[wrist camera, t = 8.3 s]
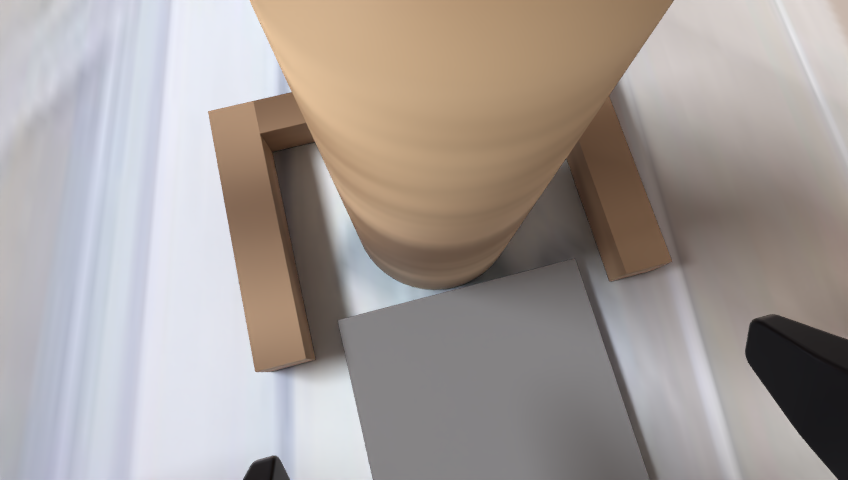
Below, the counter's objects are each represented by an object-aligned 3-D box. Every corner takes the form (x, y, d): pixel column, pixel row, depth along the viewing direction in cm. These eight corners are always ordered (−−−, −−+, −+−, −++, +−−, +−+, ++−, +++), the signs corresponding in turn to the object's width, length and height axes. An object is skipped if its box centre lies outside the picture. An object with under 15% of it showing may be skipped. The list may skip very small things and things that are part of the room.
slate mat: (680, 584, 16) (686, 589, 15) (416, 665, 15) (416, 673, 15) (571, 260, 18) (575, 258, 18) (339, 321, 17) (337, 320, 17)
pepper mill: (532, 267, 18) (802, 14, 5) (376, 307, 17) (259, 141, 5) (487, 124, 19) (617, -359, 6) (340, 159, 19) (174, -280, 6)
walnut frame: (651, 270, 18) (672, 261, 16) (269, 371, 17) (255, 371, 15) (570, 51, 20) (582, 25, 18) (224, 131, 19) (208, 111, 17)
